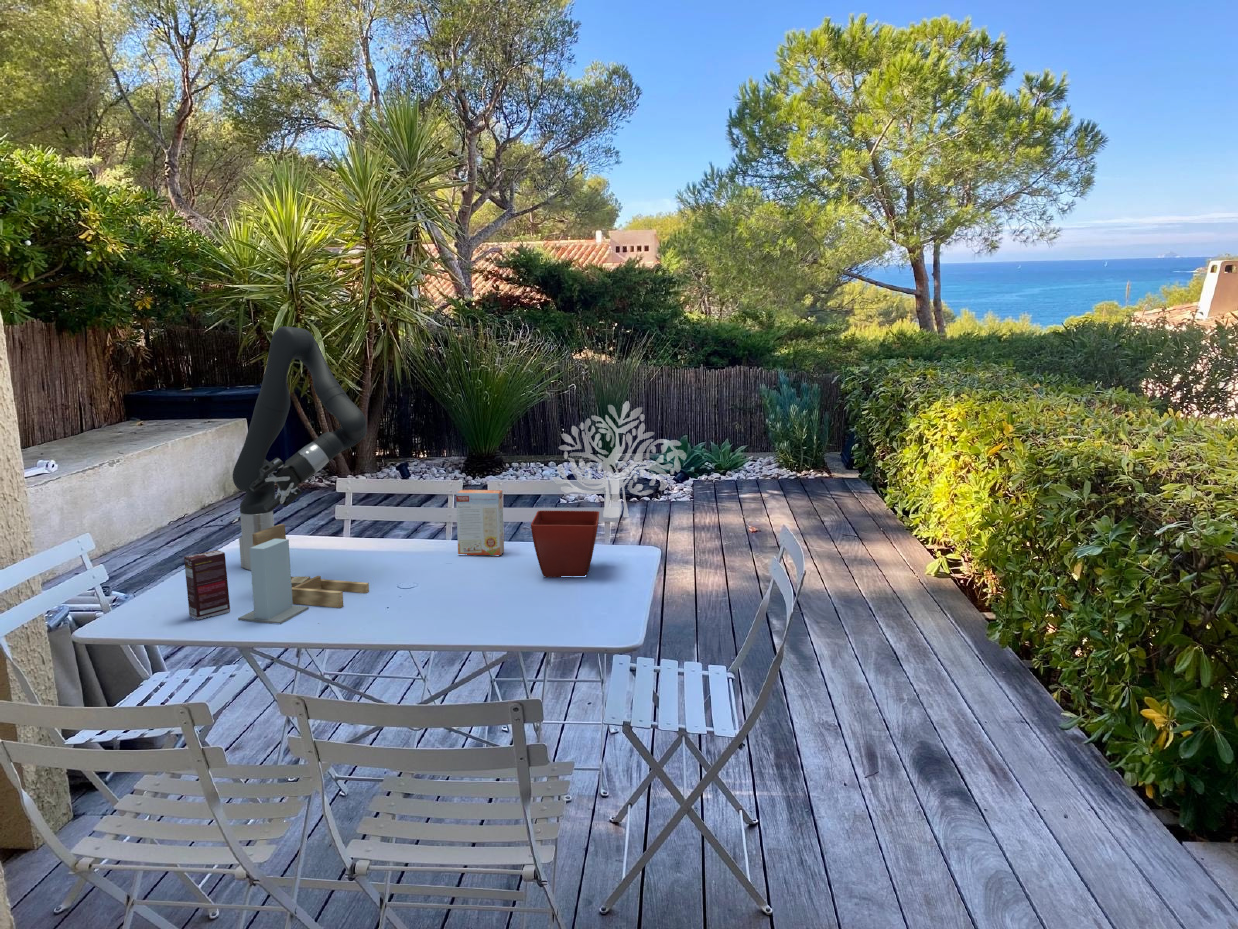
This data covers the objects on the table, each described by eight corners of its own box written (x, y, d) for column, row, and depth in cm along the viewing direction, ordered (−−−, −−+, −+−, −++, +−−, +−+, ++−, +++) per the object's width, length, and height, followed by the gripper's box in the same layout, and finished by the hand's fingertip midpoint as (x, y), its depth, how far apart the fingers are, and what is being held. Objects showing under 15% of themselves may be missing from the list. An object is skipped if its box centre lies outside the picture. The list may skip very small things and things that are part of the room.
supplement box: (221, 608, 223) (217, 549, 221) (230, 612, 220) (226, 552, 218) (187, 617, 217) (182, 556, 214) (196, 621, 214) (191, 559, 211)
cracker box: (504, 552, 279) (503, 489, 276) (500, 557, 273) (498, 493, 270) (462, 551, 281) (460, 488, 277) (457, 556, 275) (455, 492, 272)
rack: (253, 600, 230) (249, 535, 227) (286, 584, 244) (283, 523, 241) (340, 607, 224) (336, 540, 221) (369, 591, 238) (366, 528, 235)
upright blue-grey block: (254, 617, 214) (249, 548, 211) (279, 605, 224) (275, 538, 221) (268, 619, 213) (263, 549, 210) (292, 606, 223) (288, 539, 220)
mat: (238, 620, 214) (238, 618, 214) (268, 605, 226) (268, 603, 226) (280, 624, 211) (280, 622, 211) (308, 609, 223) (308, 606, 223)
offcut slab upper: (287, 589, 232) (286, 582, 232) (296, 583, 238) (295, 576, 238) (301, 590, 232) (301, 582, 232) (310, 583, 238) (309, 576, 238)
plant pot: (597, 581, 247) (596, 524, 245) (531, 581, 248) (530, 524, 245) (599, 563, 266) (599, 510, 263) (538, 563, 266) (537, 510, 264)
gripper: (309, 472, 244) (262, 509, 237) (289, 439, 234) (239, 476, 227) (325, 484, 241) (277, 521, 234) (304, 450, 230) (254, 488, 223)
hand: (258, 499), depth 230 cm, fingers open, 8 cm apart
